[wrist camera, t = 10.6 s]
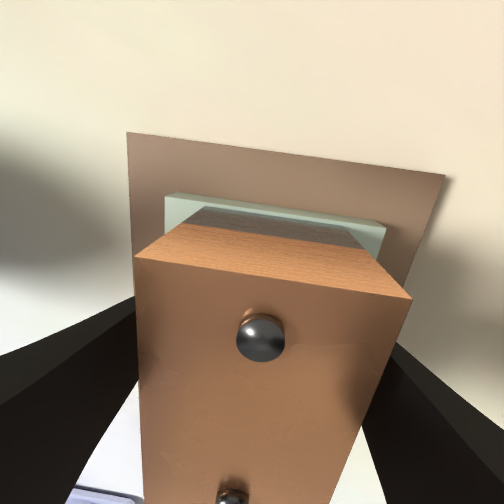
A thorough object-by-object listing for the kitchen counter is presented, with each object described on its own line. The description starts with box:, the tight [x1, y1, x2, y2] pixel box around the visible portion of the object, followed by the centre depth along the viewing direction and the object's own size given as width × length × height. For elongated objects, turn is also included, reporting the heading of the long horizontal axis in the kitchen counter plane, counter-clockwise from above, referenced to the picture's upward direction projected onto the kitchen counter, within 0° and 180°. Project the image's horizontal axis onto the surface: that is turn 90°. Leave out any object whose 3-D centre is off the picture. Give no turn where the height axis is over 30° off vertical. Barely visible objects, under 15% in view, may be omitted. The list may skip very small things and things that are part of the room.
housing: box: [134, 206, 413, 504], centre depth 8 cm, size 5×8×5 cm, turn 173°
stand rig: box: [126, 132, 446, 494], centre depth 14 cm, size 24×12×2 cm, turn 173°
